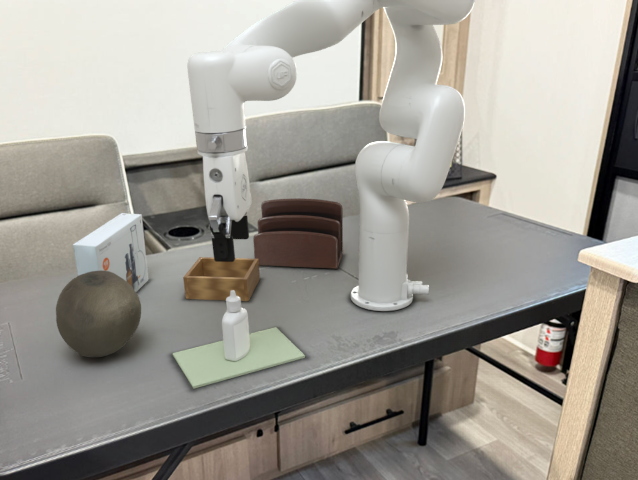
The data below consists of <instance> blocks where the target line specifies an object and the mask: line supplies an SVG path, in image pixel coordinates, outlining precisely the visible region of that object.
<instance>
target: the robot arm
mask: <svg viewBox="0 0 638 480" xmlns="http://www.w3.org/2000/svg"><path fill="white" fill-rule="evenodd" d="M475 3H476V0H294V1H292V2H289V3H288V4H286V5H285V6H283V7H281V8H280V9H278V10H276V11H274V12H272V13H270V14H268V15H266V16H264V17H263V18H261V19H259V20H257V21H256V22H255V23H253V24H252V25H250V26H248V27H247V28H246V29H245V30H243V31H242V32H241V33H240V34H239V35H237V36H236V37H234V39H232V40H230V42H228V43H227V44H226V45H225V46H224V47H223V48H222V49H221V50H212V51H202V52H197V53H193V54H192V55H191V54H190V56H189V57H188V59H187V63H186V64H187V65H186V66H187V76H188V77H187V79H188V86H189V93H190V102H191V103H190V104H191V109H192V119H193V128H194V135H195V136H194V137H195V144H196V151H197V155H198V156H201V157H202V171H203V186H204V198H205V199H204V200H205V208H206V214H207V218H208V222H209V231H210V238H211V244H212V253H213V257H214V260H215V261H216V262H233V261H234V260H235V258H236V252H235V241H234V240H248V239H249V238H250V231H249V230H250V229H249V219H248V215H247V214H248V211H249V209H250V208H251V206H252V202H253V199H252V192H251V183H250V178H249V177H250V176H249V168H248V162H247V157H246V156H247V155H246V152H248V151H249V147H248V137H247V136H248V135H247V123H246V112H245V111H246V110H245V103H246V102H272V101H277V100H279V99H282V98H284V97H286V96H287V95H288V94H289V93H290V92H291V91H292V90H293V88H294V87H295V85H296V82H297V78H298V77H297V76H298V68H297V65H296V61H295V60H294V58H296V57H299V56H303V55H306V54H311V53H315V52H319V51H320V52H321V51H322V50H325V49H328V48H331V47H334V46H335V45H337V44H339V43H341V42H342V41H343V40H345V38H346V37H348V35H350V34H351V33H352V32H353V31H354V30H356V28H358V27H359V26H360V25H361V24H362V23H364V22H365V21H366V20H367V19H369V18H370V17H371V16H372V15H373V14H374V13H376V12H377V11H378V10H380V9H384V13H385V15H386V18H387V20H388V22H389V25H390V27H391V29H392V32H393V36H394V40H395V56H394V60H393V63H392V68H391V71H390V74H389V77H388V82H387V84H386V88H385V90H384V94H383V98H382V101H381V104H380V108H379V114H378V121H379V125H380V127H381V128H382V130H383V131H385V132H386V133H388V134H390V135H393V136H397V137H401V138H408V139H413V140H415V145H409V144H405V143H400V142H393V141H385V140H380V141H379V140H378V141H374V142H370V143H368V144H366V145H365V146H364V147H362V148H361V150H360V151H359V153H358V154H357V157H356V159H355V163H354V177H355V183H356V188H357V194H358V203H359V204H358V205H359V206H358V207H359V226H358V228H359V229H358V231H359V233H358V235H359V236H358V238H359V239H358V284H357V285H356V286H355V287H353V288H352V289H351V291H350V300H351V301H352V303H354V305H356V306H358V307H360V308H362V309H365V310H369V311H374V312H393V311H398V310H401V309H402V310H403V309H404V308H406V307H408V306H409V305H411V304H412V302H413V300H414V295H415V294H416V295H427V296H428V295H429V294H430V285H429V284H423V281H422V280H415V281H414V280H413V281H412V280H411V279H408V278H409V277H408V275H409V274H408V273H407V271H408V269H407V268H408V266H407V265H408V250H409V248H408V247H409V231H410V230H409V229H410V211H409V207H408V203H407V202H410V203H411V202H412V203H415V204H425V203H426V204H427V203H430V202H431V201H433V200H434V199H436V197H437V196H438V195H439V194H440V192H441V191H442V189H443V187H444V185H445V182H446V180H447V177H448V174H449V171H450V168H451V166H452V162H453V160H454V156H455V153H456V150H457V147H458V144H459V141H460V139H461V134H462V131H463V128H464V123H465V117H466V106H465V100H464V98H463V96H462V94H461V93H460V92H459V90H457V89H456V88H454V87H452V86H450V85H446V84H438V80H439V76H440V73H441V69H442V64H443V59H444V57H443V56H444V55H443V48H442V47H443V46H442V44H441V40H440V37H439V35H438V33H437V31H436V29H435V27H434V26H446V25H447V26H449V25H456V24H458V23H460V22H462V21H464V20H465V19H466V18H467V17H468V16H469V15H470V13H471V12H472V11H473V9H474V6H475ZM224 224H225V225H224Z"/></svg>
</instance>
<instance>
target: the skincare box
mask: <svg viewBox="0 0 638 480" xmlns="http://www.w3.org/2000/svg"><path fill="white" fill-rule="evenodd" d="M144 232H145V231H144V224H143V215H142V214H141V213H140V214H139V213H127V212H121V213H119V214H118V215H116V216H115V217H113V218H112V219H110V220H108V221H107V222H105V223H104V224H102V225H100V226H99V227H97V228H96V229H95V230H93V231H92V232H90V233H89V234H86V235H85V236H83V237H82V238H80V239H79V240H77V241H76V242H74V243H73V244H72V250H73V254H74V260H75V268H76V274H77V276H79V275H81V274H84V273H87V272H91V271H100V270H101V271H109V272H112V273H115V274H116V275H118V276H119V277H121V278H123V279H124V280H125V281H127V282H128V283H129V284H130V285H131V286H132V287H133V289H134V291H135V292H136V293H137V292H139V290H140V289H142V287H143V286H144V285H145V284H147V283H148V282H149V280H150V279H149V271H148V263H147V253H146V252H147V251H146V243H145V242H146V241H145V233H144Z"/></svg>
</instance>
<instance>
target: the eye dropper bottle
mask: <svg viewBox="0 0 638 480" xmlns="http://www.w3.org/2000/svg"><path fill="white" fill-rule="evenodd" d="M225 302H226V311H225V312H224V313H223V314H224V315H223V316H222V319H221V332H222V341H223V344H224V354H225V359H227V360H230V361H238V360H240V359H242V358H243V357H245V356H246V355H247V354H248V352H249V350H250V338H249V334H250V326H249V325H250V324H249V315H248V314H249V313H248V311H247V309H246V308H245V307H242V301H241V298H240V297H239V296H236V293H235V291H234V290H231V291H230V296H229V297H227V298H226V300H225Z"/></svg>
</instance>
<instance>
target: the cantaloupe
mask: <svg viewBox="0 0 638 480" xmlns="http://www.w3.org/2000/svg"><path fill="white" fill-rule="evenodd" d="M139 297H140V296H139V295H138V294H137V292H135V291H134V289H133V287H132V286H131V285H130V284H129V283H128V282H127V281H125V280H124V279H123V278H121V277H119V276H118V275H116V274H115V273H112V272H109V271H101V270H100V271H91V272H87V273H84V274H81V275H79V276H78V275H77V276H75V277H74V278H72V279H71V280H70V281H68V283H67V284H66V285H65V286H64V287H63V288H62V290H61V292H60V293H59V296H58V297H57V301H56V305H55V322H56V327H57V330H58V333H59V335H60V336H61V338H62V340H63V341H64V343H65V344H66V345H67V346H68V347H69V348H70V349H72V351H74V352H75V353H76V354H78V355H80V356H83V357H86V358H102V357H107V356H110V355H111V354H114V353H116V352H117V351H119V350H120V349H122V348H123V347H124V346H125V345H126V344H127V342H128V341H129V340H130V339H131V338H132V337H133V336H134V335H135V333H136V331H137V329H138V328H139V325H140V322H141V318H142V303H141V299H140V298H139Z"/></svg>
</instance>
